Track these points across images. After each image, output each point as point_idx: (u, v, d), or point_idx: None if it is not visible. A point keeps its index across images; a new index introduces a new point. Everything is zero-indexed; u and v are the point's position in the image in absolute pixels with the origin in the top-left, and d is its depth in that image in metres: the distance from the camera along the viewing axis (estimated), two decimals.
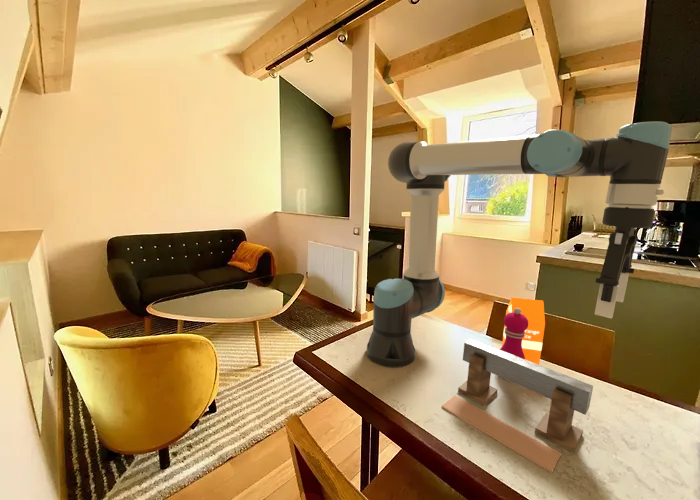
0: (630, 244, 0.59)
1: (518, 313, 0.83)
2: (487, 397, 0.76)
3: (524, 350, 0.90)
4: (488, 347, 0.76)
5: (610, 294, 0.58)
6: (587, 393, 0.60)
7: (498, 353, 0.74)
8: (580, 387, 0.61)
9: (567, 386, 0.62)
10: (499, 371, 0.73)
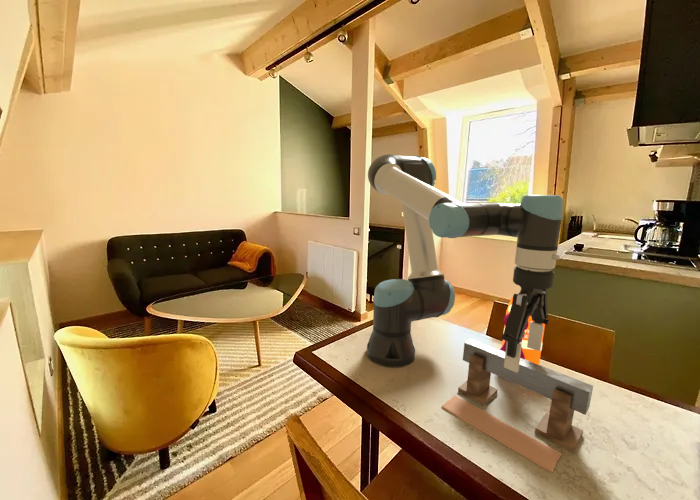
0: (533, 303, 0.64)
1: None
2: (487, 397, 0.76)
3: (524, 350, 0.90)
4: (488, 347, 0.76)
5: (513, 351, 0.63)
6: (587, 393, 0.60)
7: (498, 353, 0.74)
8: (580, 387, 0.61)
9: (567, 386, 0.62)
10: (499, 371, 0.73)
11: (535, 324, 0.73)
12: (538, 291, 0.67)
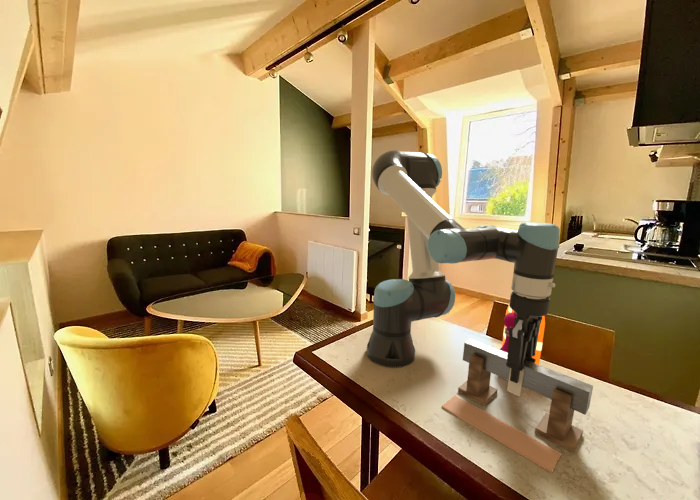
0: (529, 331, 0.66)
1: None
2: (487, 397, 0.76)
3: None
4: (488, 347, 0.76)
5: (516, 377, 0.68)
6: (587, 393, 0.60)
7: (498, 353, 0.74)
8: (580, 387, 0.61)
9: (567, 386, 0.62)
10: (499, 371, 0.73)
11: None
12: None
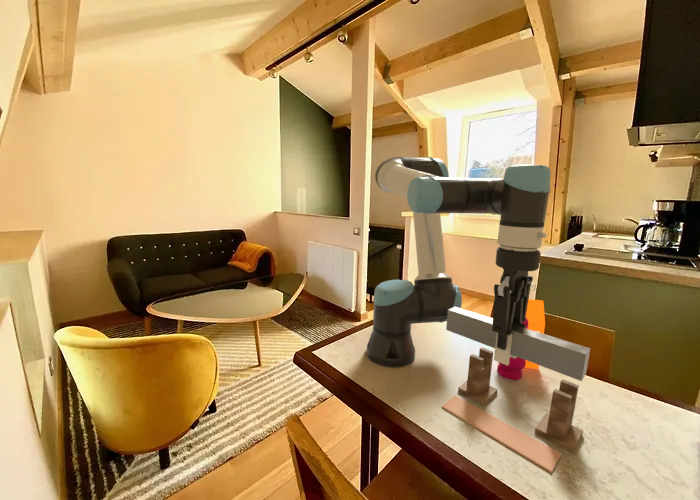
0: (517, 289, 0.58)
1: None
2: (487, 397, 0.76)
3: None
4: (474, 314, 0.68)
5: (503, 342, 0.60)
6: (583, 355, 0.52)
7: (484, 319, 0.66)
8: (575, 349, 0.53)
9: (560, 349, 0.55)
10: (485, 339, 0.65)
11: None
12: None
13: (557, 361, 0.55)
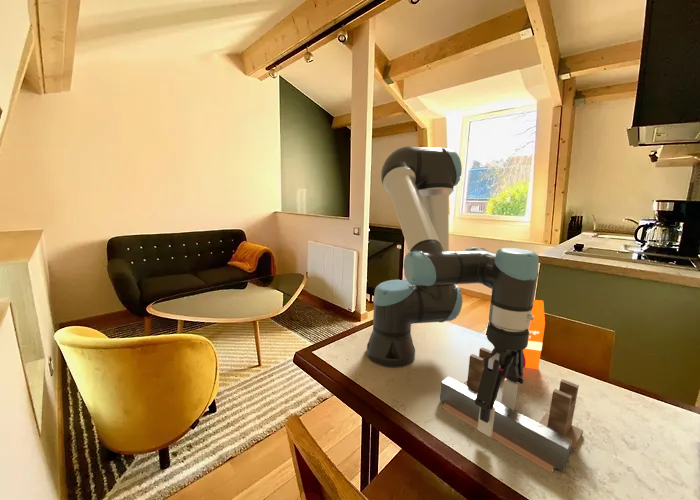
0: (506, 364, 0.61)
1: None
2: None
3: (524, 350, 0.90)
4: (465, 388, 0.72)
5: (486, 416, 0.61)
6: (565, 449, 0.56)
7: (475, 396, 0.69)
8: (558, 442, 0.57)
9: (544, 440, 0.58)
10: (476, 416, 0.69)
11: (509, 382, 0.69)
12: None
13: (541, 450, 0.59)
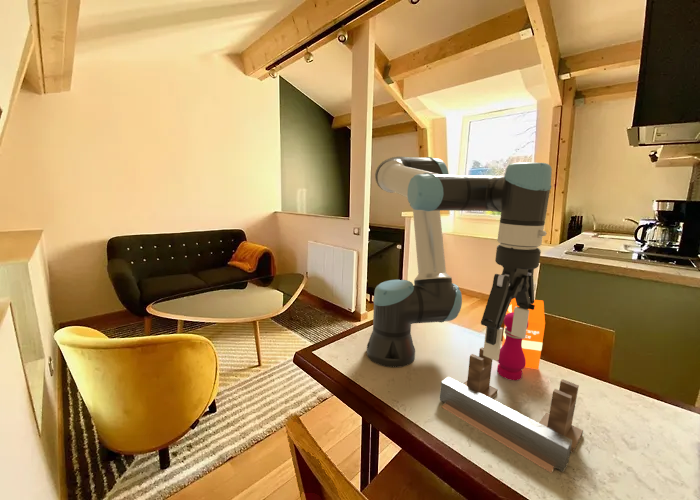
0: (516, 285, 0.58)
1: None
2: None
3: (524, 350, 0.90)
4: (465, 388, 0.72)
5: (493, 337, 0.57)
6: (565, 449, 0.56)
7: (475, 396, 0.69)
8: (558, 442, 0.57)
9: (544, 440, 0.58)
10: (476, 416, 0.69)
11: (520, 309, 0.67)
12: (523, 272, 0.60)
13: (541, 450, 0.59)
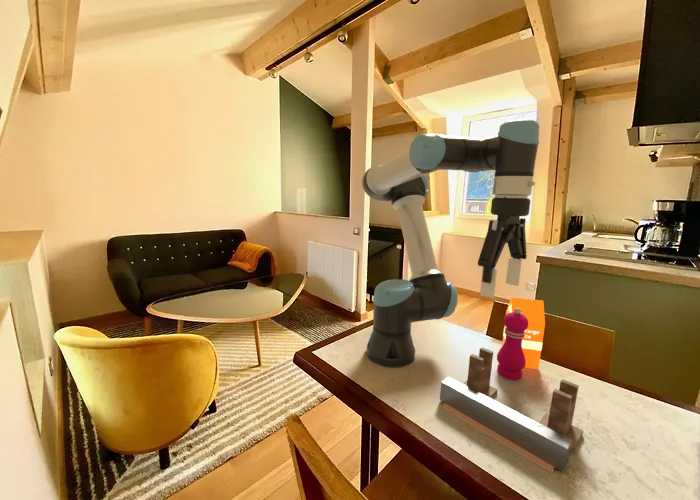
0: (509, 231, 0.65)
1: (518, 313, 0.83)
2: None
3: (524, 350, 0.90)
4: (465, 388, 0.72)
5: (488, 276, 0.64)
6: (565, 449, 0.56)
7: (475, 396, 0.69)
8: (558, 442, 0.57)
9: (544, 440, 0.58)
10: (476, 416, 0.69)
11: (513, 259, 0.74)
12: (515, 221, 0.68)
13: (541, 450, 0.59)
